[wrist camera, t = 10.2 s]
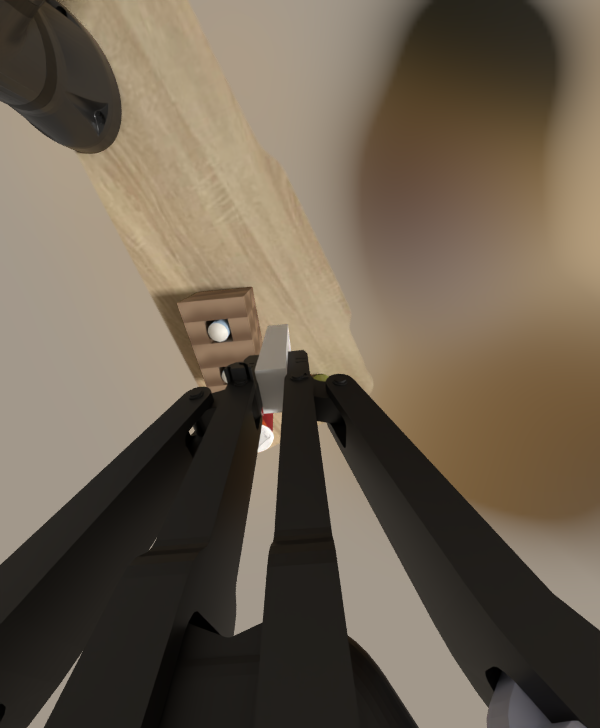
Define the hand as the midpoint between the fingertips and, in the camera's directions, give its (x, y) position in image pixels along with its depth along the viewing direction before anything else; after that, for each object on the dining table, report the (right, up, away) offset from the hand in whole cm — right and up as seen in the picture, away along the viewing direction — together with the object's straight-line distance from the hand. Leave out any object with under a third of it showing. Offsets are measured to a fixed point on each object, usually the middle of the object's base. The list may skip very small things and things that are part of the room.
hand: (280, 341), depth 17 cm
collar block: (-14, +5, +36) cm, 39 cm away
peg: (-14, +9, +33) cm, 37 cm away
